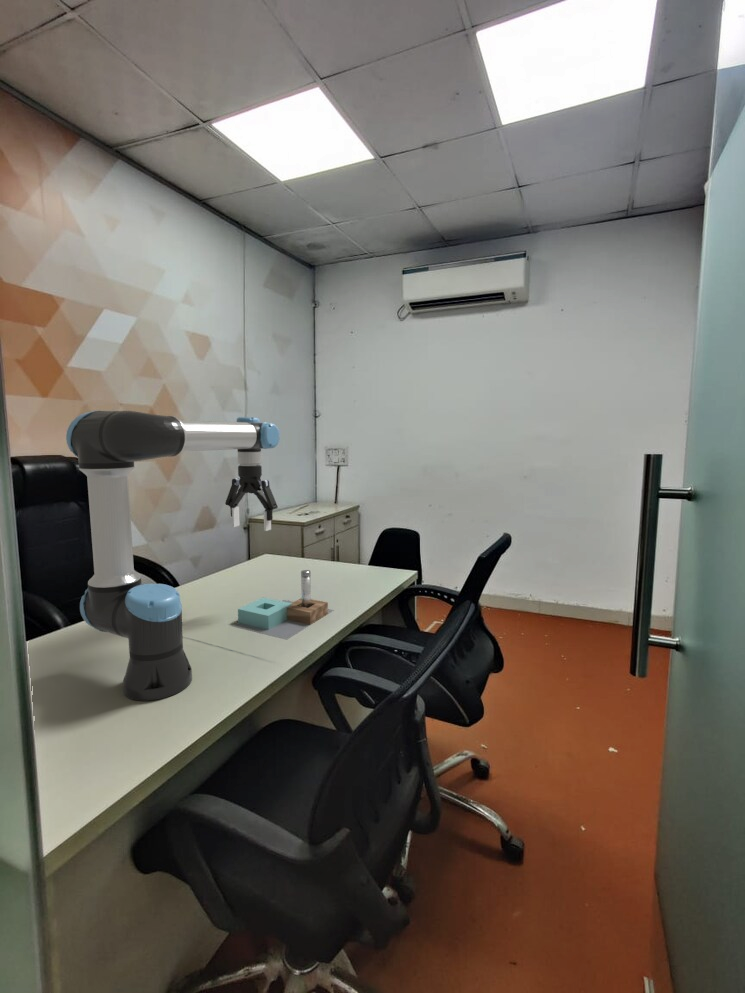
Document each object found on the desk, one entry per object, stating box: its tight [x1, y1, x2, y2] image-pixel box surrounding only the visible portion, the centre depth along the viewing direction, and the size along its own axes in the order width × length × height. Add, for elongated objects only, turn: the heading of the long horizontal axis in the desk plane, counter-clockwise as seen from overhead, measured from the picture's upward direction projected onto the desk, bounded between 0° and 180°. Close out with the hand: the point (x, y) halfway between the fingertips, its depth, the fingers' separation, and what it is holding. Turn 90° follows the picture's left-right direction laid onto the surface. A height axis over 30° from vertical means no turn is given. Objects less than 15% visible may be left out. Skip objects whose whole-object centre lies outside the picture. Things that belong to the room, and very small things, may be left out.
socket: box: [237, 597, 292, 630], centre depth 153 cm, size 12×12×4 cm
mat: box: [231, 599, 335, 640], centre depth 155 cm, size 26×21×1 cm
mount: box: [287, 598, 329, 626], centre depth 156 cm, size 10×10×4 cm
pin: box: [300, 569, 312, 608], centre depth 155 cm, size 3×3×15 cm
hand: (251, 528), depth 161 cm, fingers open, 13 cm apart
